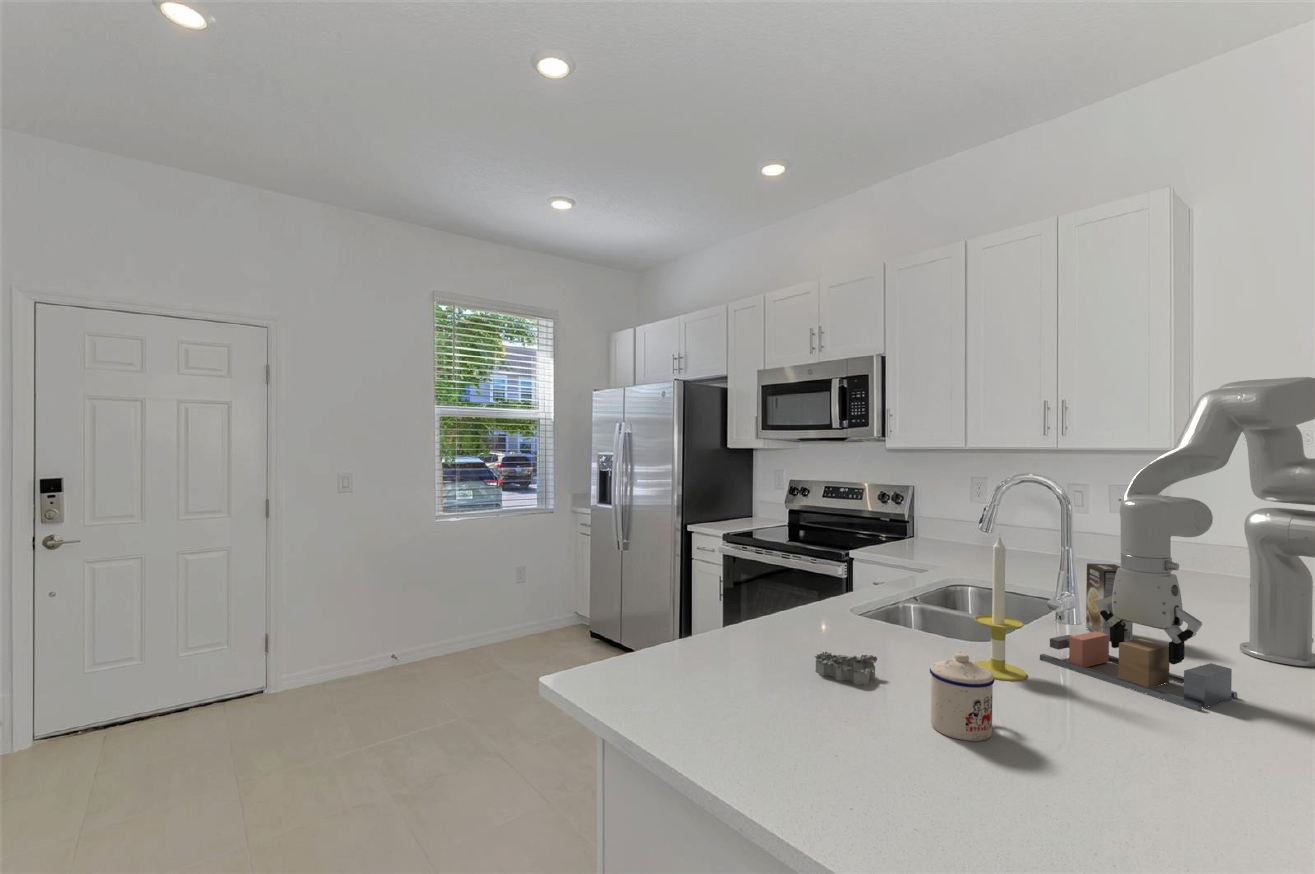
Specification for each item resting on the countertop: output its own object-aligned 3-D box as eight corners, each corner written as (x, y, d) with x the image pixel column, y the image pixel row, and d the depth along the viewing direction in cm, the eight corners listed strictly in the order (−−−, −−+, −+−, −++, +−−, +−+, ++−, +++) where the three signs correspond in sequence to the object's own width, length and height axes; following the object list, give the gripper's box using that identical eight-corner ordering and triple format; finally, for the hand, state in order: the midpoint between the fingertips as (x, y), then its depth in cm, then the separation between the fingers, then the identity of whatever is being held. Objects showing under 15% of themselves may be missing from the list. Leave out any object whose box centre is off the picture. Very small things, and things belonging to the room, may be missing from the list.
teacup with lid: (975, 749, 92) (976, 669, 92) (917, 725, 100) (918, 651, 100) (1013, 727, 99) (1014, 653, 99) (956, 707, 107) (957, 638, 107)
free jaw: (1072, 650, 136) (1072, 625, 136) (1108, 661, 129) (1109, 634, 129) (1045, 656, 132) (1046, 630, 132) (1082, 668, 125) (1082, 640, 125)
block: (1139, 674, 124) (1139, 638, 124) (1169, 683, 119) (1169, 646, 119) (1118, 679, 121) (1118, 643, 121) (1148, 689, 116) (1148, 651, 116)
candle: (969, 675, 121) (971, 535, 122) (968, 659, 130) (970, 528, 131) (1029, 684, 117) (1031, 539, 117) (1024, 667, 126) (1026, 532, 126)
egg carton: (879, 678, 120) (880, 656, 120) (863, 689, 115) (864, 667, 115) (827, 664, 127) (828, 643, 127) (810, 674, 122) (810, 652, 122)
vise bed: (1078, 651, 137) (1078, 625, 137) (1237, 698, 112) (1237, 667, 112) (1039, 659, 131) (1040, 632, 131) (1198, 711, 106) (1198, 678, 107)
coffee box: (1084, 628, 154) (1085, 562, 154) (1113, 630, 152) (1114, 563, 152) (1102, 640, 145) (1103, 570, 145) (1134, 642, 143) (1135, 571, 143)
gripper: (1211, 571, 114) (1211, 666, 114) (1107, 555, 129) (1108, 638, 129) (1189, 575, 110) (1189, 673, 111) (1085, 558, 126) (1086, 644, 126)
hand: (1145, 654), depth 120 cm, fingers open, 9 cm apart
